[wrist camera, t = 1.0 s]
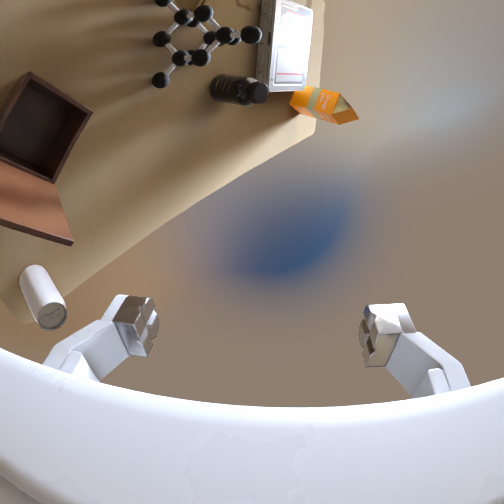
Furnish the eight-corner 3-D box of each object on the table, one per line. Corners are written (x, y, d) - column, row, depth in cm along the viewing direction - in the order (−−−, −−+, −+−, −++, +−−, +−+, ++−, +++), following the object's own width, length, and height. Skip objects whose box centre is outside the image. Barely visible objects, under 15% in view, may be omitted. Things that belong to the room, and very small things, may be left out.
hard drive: (254, 90, 68) (268, 92, 66) (262, -4, 51) (276, -5, 49) (292, 88, 79) (304, 90, 77) (300, 9, 63) (313, 10, 60)
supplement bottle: (233, 82, 61) (275, 88, 56) (222, 106, 62) (263, 114, 57) (216, 68, 55) (259, 72, 50) (203, 94, 56) (246, 100, 51)
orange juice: (300, 114, 90) (355, 130, 80) (288, 104, 82) (348, 119, 73) (308, 94, 88) (363, 108, 78) (297, 83, 80) (356, 97, 71)
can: (14, 270, 39) (30, 310, 33) (43, 258, 44) (64, 293, 38) (24, 298, 42) (42, 338, 37) (50, 285, 47) (73, 322, 42)
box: (20, 76, 26) (30, 71, 21) (73, 108, 36) (94, 111, 32) (-17, 145, 26) (-17, 156, 22) (39, 170, 37) (53, 186, 32)
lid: (-24, 209, 16) (-27, 217, 16) (74, 241, 26) (71, 247, 27) (-15, 153, 21) (-18, 159, 21) (55, 184, 32) (52, 189, 32)
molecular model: (220, 42, 52) (299, 45, 42) (153, 91, 47) (230, 100, 38) (193, -23, 36) (278, -39, 27) (111, 19, 32) (185, -7, 22)
